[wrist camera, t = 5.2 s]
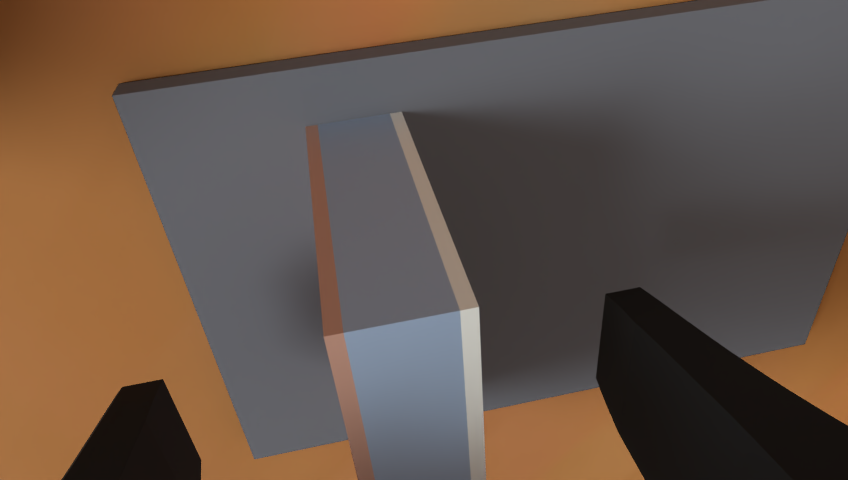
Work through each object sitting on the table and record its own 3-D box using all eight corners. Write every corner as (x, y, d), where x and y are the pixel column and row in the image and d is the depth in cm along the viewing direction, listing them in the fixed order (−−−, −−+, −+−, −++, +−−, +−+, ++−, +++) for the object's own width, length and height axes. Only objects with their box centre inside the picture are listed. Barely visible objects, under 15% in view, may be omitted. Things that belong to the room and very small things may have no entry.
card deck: (432, 392, 15) (491, 620, 11) (363, 407, 14) (397, 641, 10) (401, 111, 11) (479, 307, 6) (305, 126, 10) (323, 336, 6)
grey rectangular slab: (791, 330, 17) (804, 344, 16) (255, 441, 15) (254, 459, 15) (922, -33, 11) (945, -26, 11) (118, 83, 10) (111, 95, 9)
